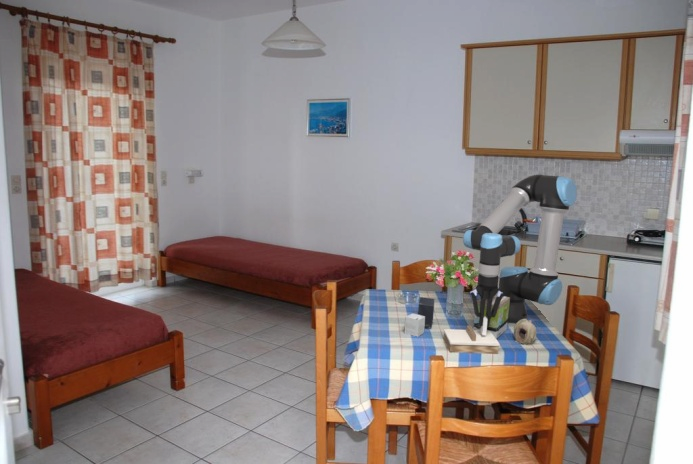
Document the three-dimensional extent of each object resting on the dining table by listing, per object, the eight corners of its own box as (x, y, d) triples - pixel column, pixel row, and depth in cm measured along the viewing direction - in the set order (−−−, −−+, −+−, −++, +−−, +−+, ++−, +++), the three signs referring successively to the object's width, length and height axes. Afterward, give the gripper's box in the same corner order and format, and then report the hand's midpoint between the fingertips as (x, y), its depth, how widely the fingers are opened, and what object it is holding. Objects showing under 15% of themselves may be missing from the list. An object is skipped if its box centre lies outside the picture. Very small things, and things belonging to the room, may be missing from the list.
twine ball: (513, 344, 225) (510, 319, 226) (535, 342, 223) (531, 317, 225) (517, 346, 215) (514, 320, 217) (540, 344, 214) (536, 318, 216)
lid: (489, 332, 221) (490, 324, 220) (499, 345, 207) (500, 337, 206) (443, 331, 220) (444, 323, 220) (450, 344, 207) (450, 335, 206)
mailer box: (488, 340, 221) (489, 333, 220) (497, 353, 208) (498, 346, 207) (443, 339, 221) (444, 332, 220) (449, 352, 208) (450, 344, 207)
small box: (432, 329, 231) (433, 305, 229) (416, 328, 232) (417, 303, 230) (433, 321, 241) (435, 298, 239) (418, 319, 242) (419, 296, 241)
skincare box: (411, 329, 230) (412, 312, 229) (424, 333, 227) (425, 316, 225) (404, 333, 225) (405, 316, 224) (417, 337, 222) (418, 319, 220)
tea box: (496, 340, 221) (499, 305, 219) (472, 335, 226) (475, 300, 224) (507, 330, 234) (510, 296, 231) (484, 325, 239) (487, 291, 236)
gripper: (502, 272, 213) (497, 331, 217) (469, 271, 213) (464, 329, 217) (508, 277, 205) (502, 338, 210) (473, 276, 205) (468, 336, 210)
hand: (483, 333), depth 213 cm, fingers closed
